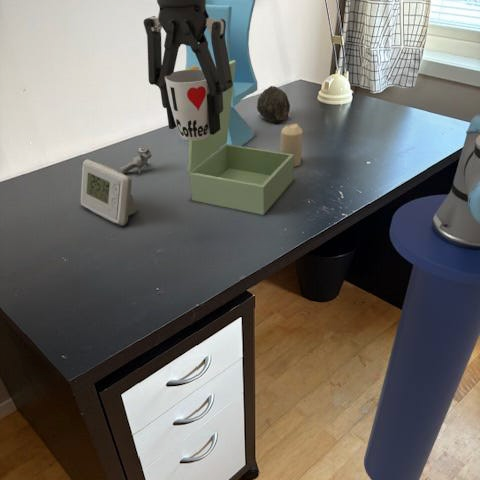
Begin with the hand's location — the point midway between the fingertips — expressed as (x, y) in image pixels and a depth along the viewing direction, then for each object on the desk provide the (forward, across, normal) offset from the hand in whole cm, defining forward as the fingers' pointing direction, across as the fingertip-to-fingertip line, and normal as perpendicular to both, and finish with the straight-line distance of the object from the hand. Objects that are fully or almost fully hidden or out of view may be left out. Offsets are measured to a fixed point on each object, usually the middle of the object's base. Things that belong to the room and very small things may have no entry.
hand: (194, 128), depth 86 cm
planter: (+23, +20, -49) cm, 58 cm away
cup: (+1, 0, 0) cm, 1 cm away
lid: (+6, +8, -23) cm, 25 cm away
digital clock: (+23, +26, -1) cm, 34 cm away
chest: (+23, +1, -23) cm, 32 cm away
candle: (+23, -4, -42) cm, 48 cm away
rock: (+23, +13, -72) cm, 77 cm away
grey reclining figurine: (+23, +31, -22) cm, 45 cm away
